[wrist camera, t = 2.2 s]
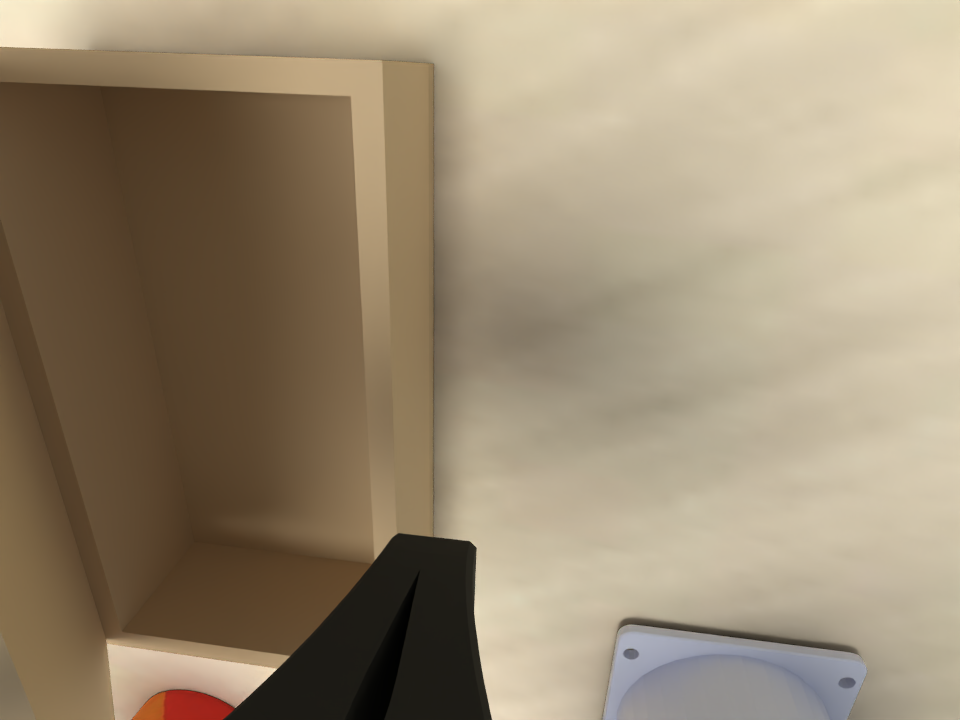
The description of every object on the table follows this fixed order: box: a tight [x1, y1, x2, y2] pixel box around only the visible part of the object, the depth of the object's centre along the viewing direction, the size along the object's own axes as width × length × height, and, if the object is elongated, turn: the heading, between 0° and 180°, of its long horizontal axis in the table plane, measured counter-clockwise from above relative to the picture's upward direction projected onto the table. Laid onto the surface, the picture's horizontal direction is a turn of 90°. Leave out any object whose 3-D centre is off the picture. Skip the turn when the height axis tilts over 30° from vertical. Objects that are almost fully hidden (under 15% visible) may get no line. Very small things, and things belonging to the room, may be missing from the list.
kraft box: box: [0, 47, 434, 668], centre depth 17 cm, size 16×9×4 cm, turn 178°
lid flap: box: [0, 299, 115, 720], centre depth 12 cm, size 16×9×1 cm
